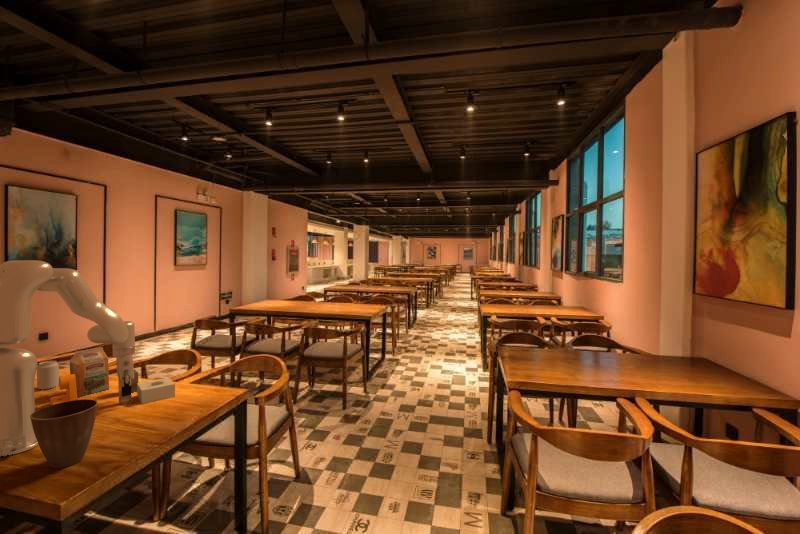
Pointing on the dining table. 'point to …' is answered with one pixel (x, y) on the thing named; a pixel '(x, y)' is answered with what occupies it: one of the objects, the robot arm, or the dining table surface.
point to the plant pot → (64, 430)
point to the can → (47, 375)
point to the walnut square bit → (134, 382)
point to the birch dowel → (123, 399)
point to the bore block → (155, 390)
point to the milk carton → (90, 371)
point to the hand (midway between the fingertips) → (124, 392)
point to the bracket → (70, 386)
